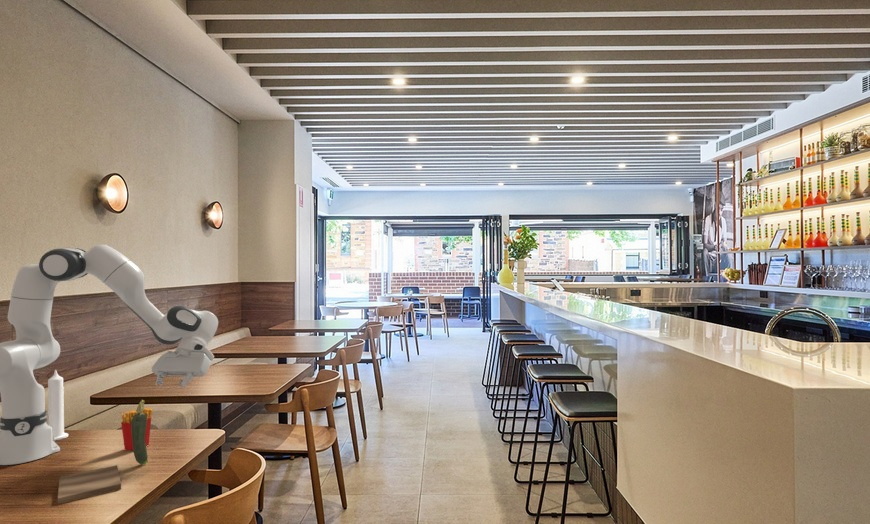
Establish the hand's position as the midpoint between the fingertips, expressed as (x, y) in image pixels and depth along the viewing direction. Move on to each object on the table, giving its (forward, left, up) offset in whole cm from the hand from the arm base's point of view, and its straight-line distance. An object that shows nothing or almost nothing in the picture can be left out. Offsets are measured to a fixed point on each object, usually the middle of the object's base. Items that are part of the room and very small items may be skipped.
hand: (169, 385), depth 168 cm
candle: (-43, -32, -22) cm, 58 cm away
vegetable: (+8, -10, -22) cm, 25 cm away
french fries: (-11, -9, -22) cm, 26 cm away
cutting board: (+16, -23, -22) cm, 35 cm away
